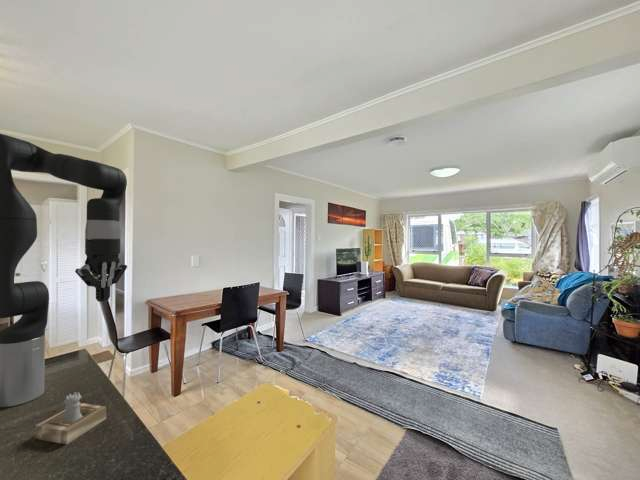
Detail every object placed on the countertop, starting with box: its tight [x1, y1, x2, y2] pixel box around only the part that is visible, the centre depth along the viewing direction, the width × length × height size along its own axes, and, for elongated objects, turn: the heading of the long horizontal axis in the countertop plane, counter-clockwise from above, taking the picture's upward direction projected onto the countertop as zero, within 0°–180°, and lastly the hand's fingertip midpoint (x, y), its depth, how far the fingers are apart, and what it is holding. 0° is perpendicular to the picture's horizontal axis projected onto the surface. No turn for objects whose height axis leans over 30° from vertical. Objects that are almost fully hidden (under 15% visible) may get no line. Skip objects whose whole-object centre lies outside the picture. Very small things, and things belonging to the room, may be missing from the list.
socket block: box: [35, 402, 107, 445], centre depth 65 cm, size 9×9×3 cm
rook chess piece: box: [62, 391, 83, 425], centre depth 65 cm, size 4×4×8 cm
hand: (102, 300), depth 73 cm, fingers closed
